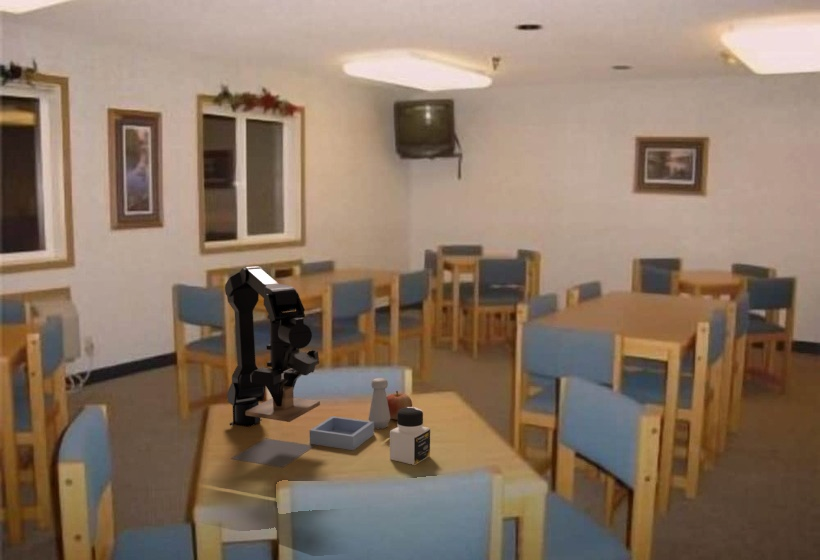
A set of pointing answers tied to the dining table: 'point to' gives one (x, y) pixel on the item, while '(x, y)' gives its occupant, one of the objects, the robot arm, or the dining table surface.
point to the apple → (397, 403)
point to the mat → (273, 452)
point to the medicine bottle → (410, 437)
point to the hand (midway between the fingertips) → (283, 403)
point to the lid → (283, 407)
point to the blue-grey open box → (342, 432)
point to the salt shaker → (379, 404)
